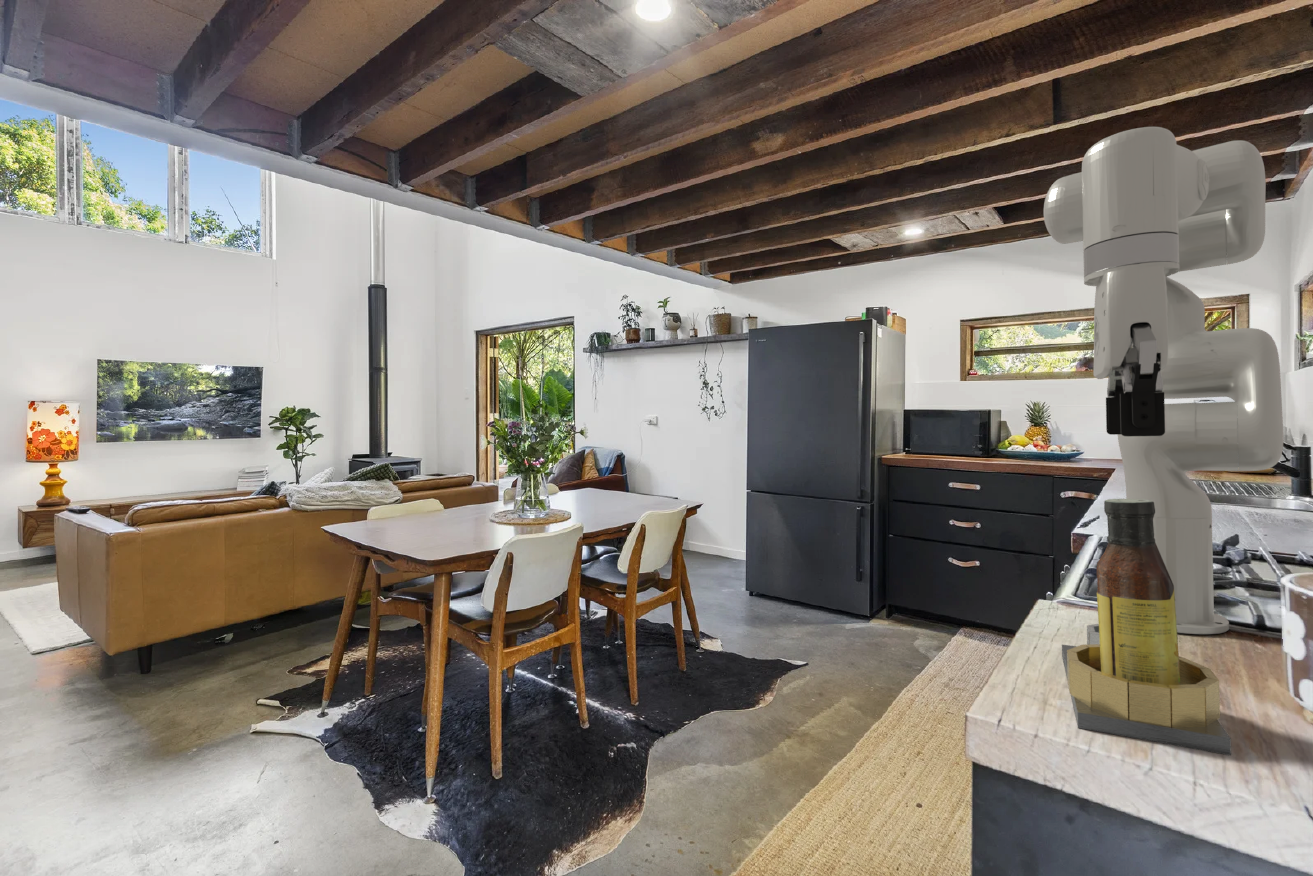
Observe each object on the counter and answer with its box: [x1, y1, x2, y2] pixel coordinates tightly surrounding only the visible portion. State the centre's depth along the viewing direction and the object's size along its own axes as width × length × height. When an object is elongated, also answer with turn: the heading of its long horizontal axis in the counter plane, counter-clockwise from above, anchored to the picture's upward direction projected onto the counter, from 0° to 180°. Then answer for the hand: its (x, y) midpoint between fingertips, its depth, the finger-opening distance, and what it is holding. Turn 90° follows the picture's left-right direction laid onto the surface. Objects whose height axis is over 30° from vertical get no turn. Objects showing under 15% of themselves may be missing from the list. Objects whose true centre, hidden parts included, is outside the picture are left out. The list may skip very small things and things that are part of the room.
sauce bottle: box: [1096, 498, 1180, 685], centre depth 62 cm, size 6×6×20 cm
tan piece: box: [1061, 623, 1232, 756], centre depth 65 cm, size 21×12×5 cm, turn 150°
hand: (1133, 435), depth 61 cm, fingers open, 9 cm apart
